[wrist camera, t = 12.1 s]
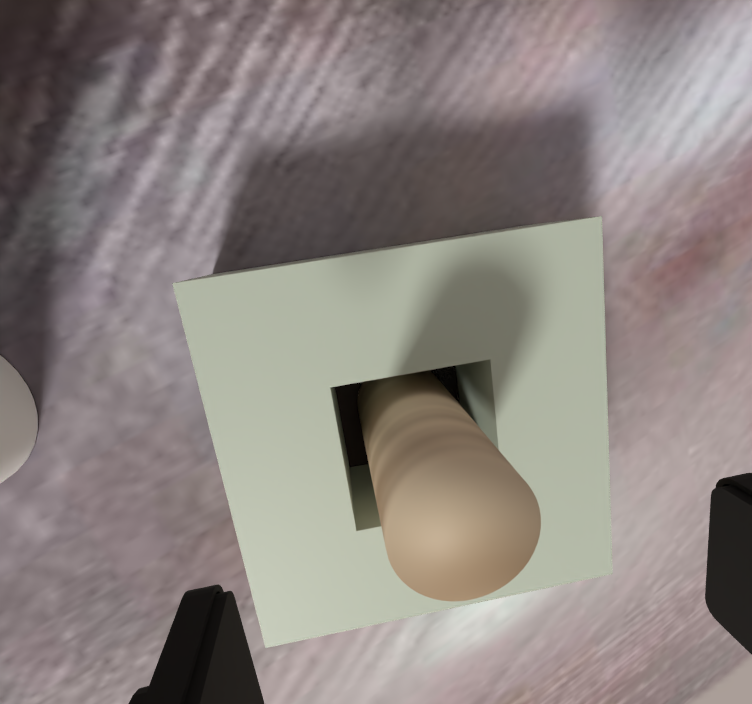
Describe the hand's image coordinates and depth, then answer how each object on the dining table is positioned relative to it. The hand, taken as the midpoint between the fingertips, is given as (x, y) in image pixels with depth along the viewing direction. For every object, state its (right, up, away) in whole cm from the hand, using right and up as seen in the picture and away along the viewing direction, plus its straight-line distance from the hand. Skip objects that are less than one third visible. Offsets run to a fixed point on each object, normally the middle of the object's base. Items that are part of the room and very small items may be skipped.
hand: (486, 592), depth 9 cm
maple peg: (-1, +2, +12) cm, 13 cm away
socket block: (-1, +2, +12) cm, 13 cm away
